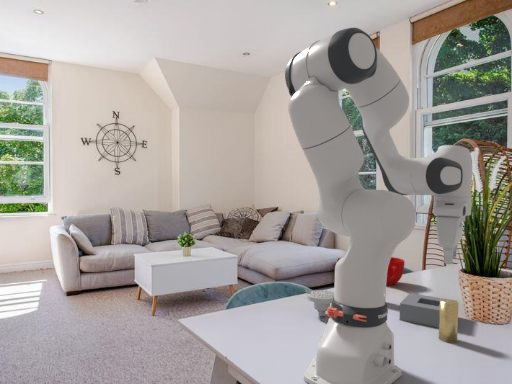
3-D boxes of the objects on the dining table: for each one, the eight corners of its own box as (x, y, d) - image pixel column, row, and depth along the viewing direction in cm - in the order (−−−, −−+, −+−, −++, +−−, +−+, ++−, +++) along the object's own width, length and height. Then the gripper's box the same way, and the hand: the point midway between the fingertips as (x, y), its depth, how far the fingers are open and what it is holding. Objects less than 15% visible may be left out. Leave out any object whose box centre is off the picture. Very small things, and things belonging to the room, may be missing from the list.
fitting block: (451, 330, 109) (452, 312, 109) (399, 319, 116) (400, 303, 116) (456, 316, 121) (457, 300, 120) (409, 308, 128) (409, 293, 128)
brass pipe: (456, 344, 99) (457, 305, 99) (437, 340, 101) (438, 302, 101) (458, 338, 103) (459, 301, 103) (439, 335, 105) (441, 298, 105)
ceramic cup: (378, 289, 150) (379, 263, 150) (367, 279, 167) (368, 256, 167) (412, 290, 150) (412, 265, 150) (397, 280, 167) (398, 256, 167)
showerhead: (306, 286, 125) (338, 288, 123) (305, 308, 125) (337, 311, 123) (304, 294, 116) (338, 296, 114) (303, 318, 116) (337, 321, 114)
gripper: (443, 205, 112) (442, 253, 112) (432, 208, 95) (431, 265, 95) (468, 206, 109) (467, 256, 109) (462, 210, 91) (460, 268, 92)
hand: (450, 260), depth 102 cm, fingers open, 8 cm apart
